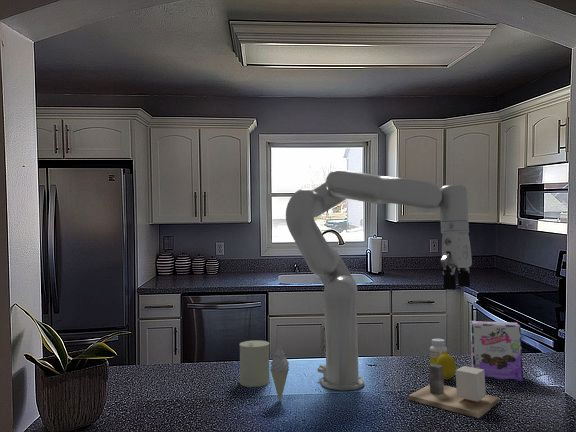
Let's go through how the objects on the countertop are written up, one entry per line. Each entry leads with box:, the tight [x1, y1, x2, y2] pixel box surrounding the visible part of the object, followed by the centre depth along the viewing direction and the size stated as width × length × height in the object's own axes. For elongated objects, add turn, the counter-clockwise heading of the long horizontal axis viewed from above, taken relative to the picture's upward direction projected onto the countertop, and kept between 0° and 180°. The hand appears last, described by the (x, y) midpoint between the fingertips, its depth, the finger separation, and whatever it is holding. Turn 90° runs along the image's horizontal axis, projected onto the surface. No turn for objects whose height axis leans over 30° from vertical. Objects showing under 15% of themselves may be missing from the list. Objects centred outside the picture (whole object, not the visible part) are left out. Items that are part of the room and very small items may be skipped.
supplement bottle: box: [429, 338, 449, 365], centre depth 140 cm, size 5×5×10 cm
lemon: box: [437, 353, 457, 381], centre depth 130 cm, size 6×6×8 cm
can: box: [238, 339, 271, 388], centre depth 131 cm, size 9×9×12 cm
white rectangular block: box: [455, 365, 487, 402], centre depth 109 cm, size 5×5×7 cm
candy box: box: [469, 320, 524, 382], centre depth 132 cm, size 14×6×16 cm, turn 71°
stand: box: [408, 364, 500, 419], centre depth 112 cm, size 18×14×8 cm
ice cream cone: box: [269, 343, 290, 401], centre depth 115 cm, size 5×5×15 cm
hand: (457, 288), depth 122 cm, fingers open, 9 cm apart
